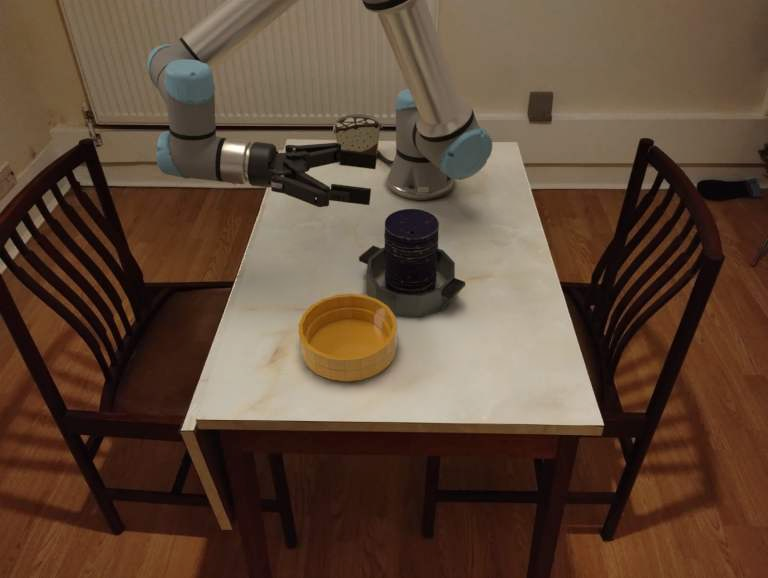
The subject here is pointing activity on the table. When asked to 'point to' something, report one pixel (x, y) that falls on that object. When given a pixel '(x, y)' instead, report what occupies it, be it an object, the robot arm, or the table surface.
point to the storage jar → (411, 251)
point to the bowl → (348, 337)
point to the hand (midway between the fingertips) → (373, 178)
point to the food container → (358, 132)
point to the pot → (407, 301)
